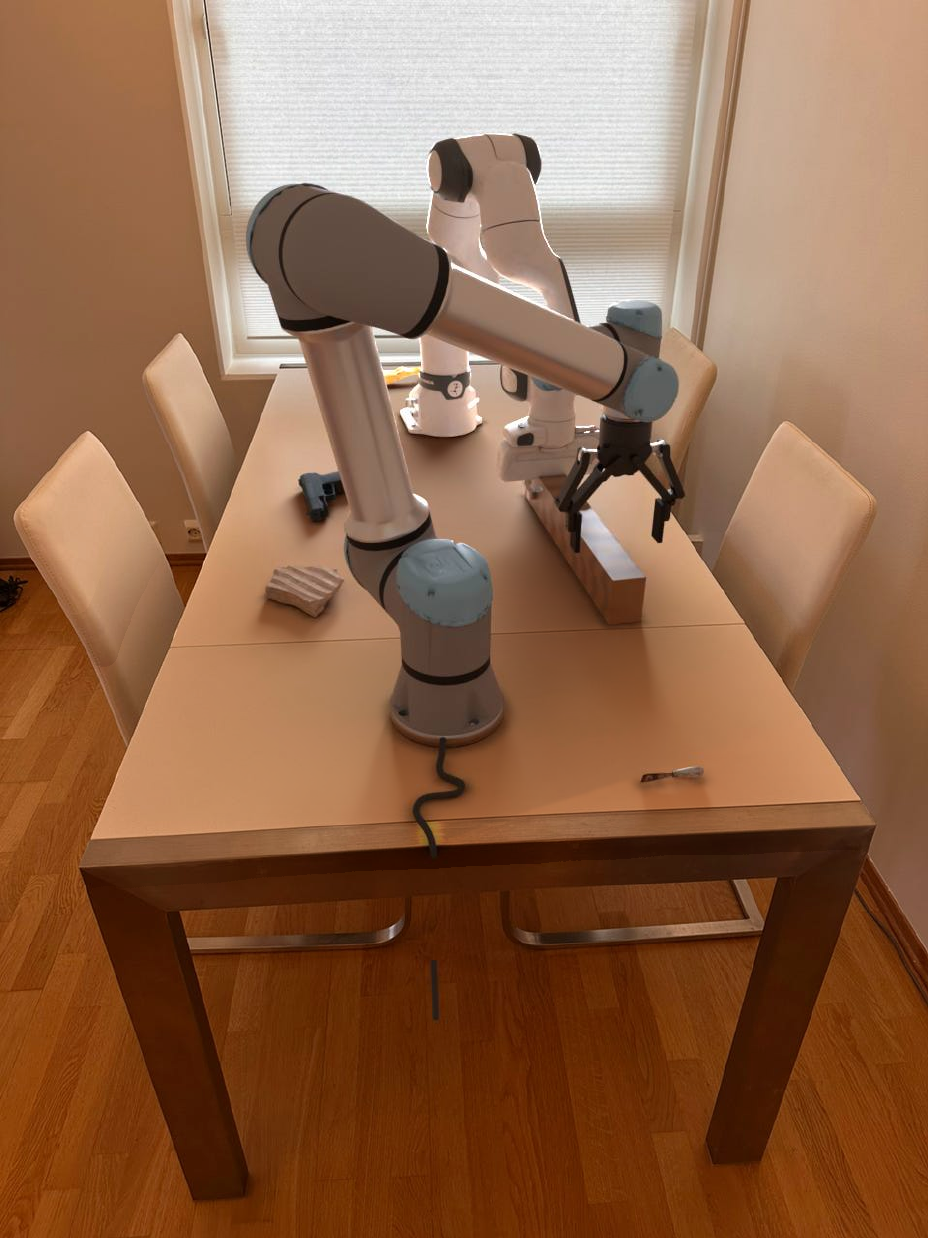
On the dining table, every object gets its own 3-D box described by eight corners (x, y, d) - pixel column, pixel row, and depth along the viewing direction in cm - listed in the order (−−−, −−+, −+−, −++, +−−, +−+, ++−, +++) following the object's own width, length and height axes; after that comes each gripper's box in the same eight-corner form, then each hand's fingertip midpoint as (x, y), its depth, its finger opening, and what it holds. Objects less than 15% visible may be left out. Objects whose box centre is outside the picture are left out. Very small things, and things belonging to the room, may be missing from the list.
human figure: (326, 388, 241) (325, 373, 239) (370, 367, 255) (369, 353, 253) (385, 401, 233) (384, 386, 231) (427, 379, 247) (427, 365, 245)
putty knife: (703, 777, 109) (705, 767, 109) (642, 788, 108) (644, 777, 107) (700, 772, 110) (702, 762, 109) (639, 782, 109) (640, 771, 108)
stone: (354, 583, 150) (352, 570, 149) (317, 618, 141) (316, 605, 140) (288, 570, 155) (286, 557, 153) (249, 603, 145) (246, 590, 144)
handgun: (369, 516, 174) (308, 523, 171) (354, 480, 188) (297, 486, 185) (368, 501, 172) (306, 508, 169) (353, 466, 186) (295, 472, 183)
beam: (641, 621, 140) (646, 577, 136) (608, 625, 140) (612, 580, 135) (550, 493, 182) (552, 457, 178) (524, 496, 181) (526, 459, 177)
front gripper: (696, 398, 134) (680, 525, 146) (536, 412, 130) (533, 542, 142) (718, 414, 128) (700, 545, 140) (551, 430, 124) (546, 564, 135)
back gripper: (598, 419, 171) (593, 486, 179) (494, 427, 168) (494, 495, 175) (609, 430, 166) (603, 498, 173) (503, 439, 162) (501, 508, 170)
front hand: (616, 544), depth 141 cm, fingers open, 13 cm apart
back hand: (547, 497), depth 174 cm, fingers closed on beam, 5 cm apart
